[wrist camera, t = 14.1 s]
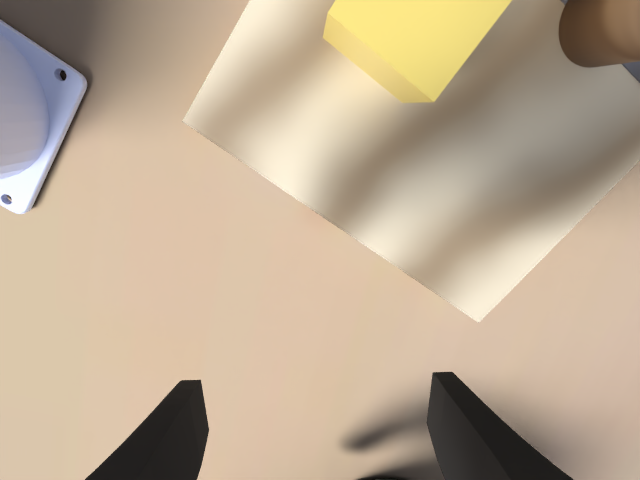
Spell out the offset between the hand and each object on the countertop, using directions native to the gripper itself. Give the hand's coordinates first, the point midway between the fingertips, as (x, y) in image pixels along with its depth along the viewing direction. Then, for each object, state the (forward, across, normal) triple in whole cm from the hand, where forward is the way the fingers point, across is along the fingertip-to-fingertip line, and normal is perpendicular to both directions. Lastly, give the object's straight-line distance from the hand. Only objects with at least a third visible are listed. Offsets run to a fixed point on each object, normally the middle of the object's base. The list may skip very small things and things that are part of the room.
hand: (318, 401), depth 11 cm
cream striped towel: (+10, -8, -10) cm, 16 cm away
